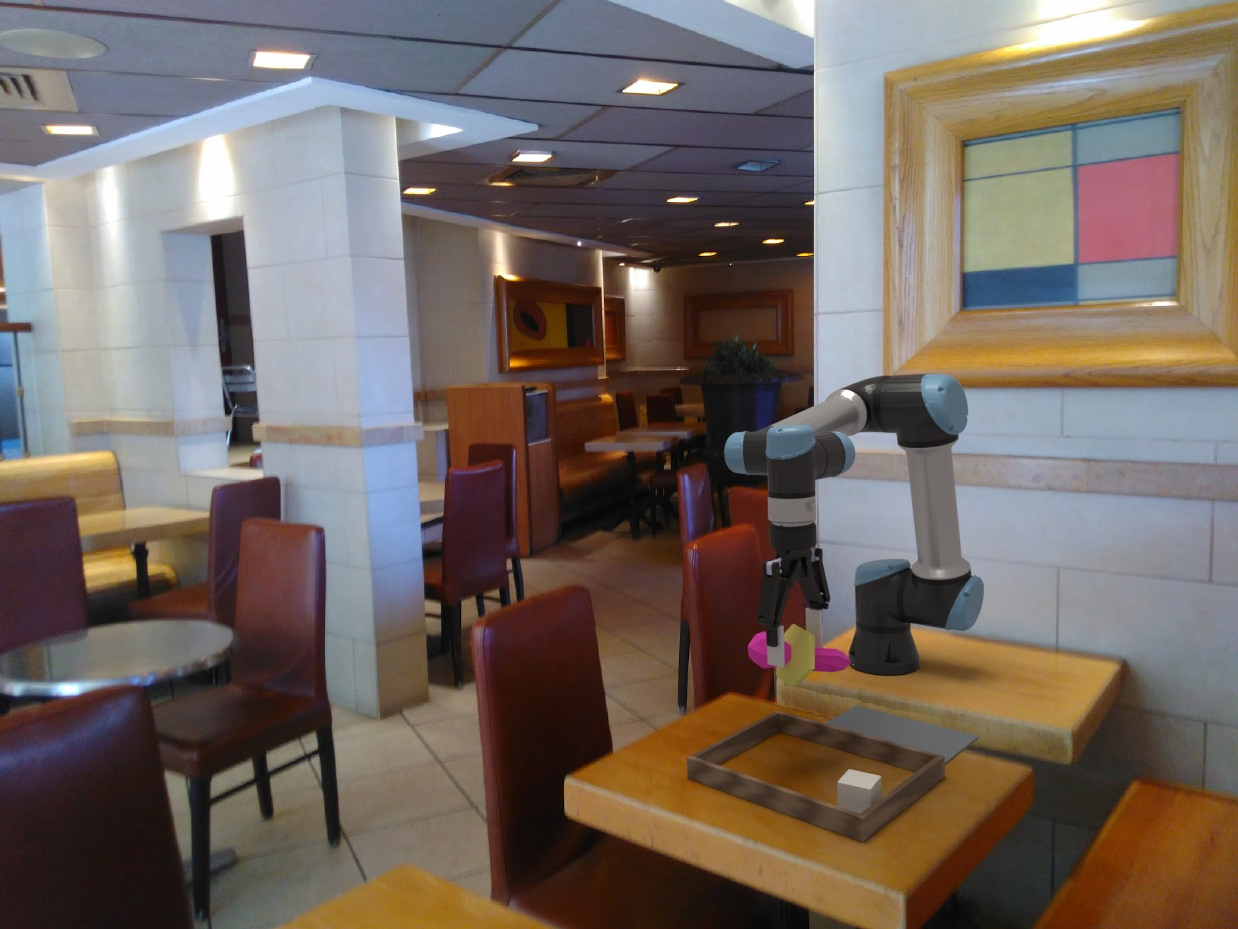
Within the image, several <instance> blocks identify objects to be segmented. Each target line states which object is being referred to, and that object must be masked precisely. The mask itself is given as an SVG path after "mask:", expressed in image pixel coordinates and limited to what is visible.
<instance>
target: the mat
mask: <svg viewBox="0 0 1238 929" xmlns="http://www.w3.org/2000/svg"><path fill="white" fill-rule="evenodd" d="M824 723H825V724H828V725H832V726H836V727H839V728H843V729H847V730H850V731H854V732H857V733H861V734H865V735H868V736H872V737H876V738H879V739H883V740H887V741H890V742H894V743H898V744H901V745H905V746H909V747H912V748H916V749H919V750H923V751H927V752H930V753H934V754H938V755H941V756H945V765H947V763H948V764H949V762H951V761H952V760H953V759H954V758H955V757H957V756H958V755H960V754H961V753H962V752H963V751H964V750H967V748H968V747H970V746H971V745H972V744H973V743H975V742H976V741H978V740H979V738H980V736H979V735H977V734H976V735H975V734H973V733H969V732H968V733H967V732H964V731H960V730H956V729H953V728H947V727H944V726H939V725H937V724H932V723H927V722H925V721H919V720H916V719H912V718H910V717H909V718H907V717H904V716H899V715H897V714H893V713H888V712H885V711H880V710H876V709H872V708H868V707H864V706H861V705H857V704H856V705H855V706H853V707H851V708H849V709H847V710H846V711H843V712H842V713H841V714H838V715H837V716H836V717H833V718H832V719H830V720H829V721H827V722H824Z"/></svg>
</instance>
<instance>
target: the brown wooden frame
mask: <svg viewBox="0 0 1238 929" xmlns="http://www.w3.org/2000/svg"><path fill="white" fill-rule="evenodd" d="M825 723H826V722H821V721H816V720H814V719H809V718H806V717H801V716H798V715H795V714H791V713H788V712H784V711H781V710H775V711H772V712H771V713H769V714H768V715H766V716H764V717H763V718H760V719H758V720H755V721H754V722H753V723H751V724H749V725H747V726H745V727H742V728H741V729H739V730H737V731H735V732H733V733H731V734H729V735H727V736H725V737H723V738H721V739H720V740H718V741H716V742H714V743H712V744H710V745H708V746H707V747H704V748H702V749H701V750H699V751H697V752H695V753H692V754H691V755H689V756H687V757H686V772H687V773H686V775H687V779H689V780H692V781H695V782H697V783H700V784H703V785H705V786H708V787H711V788H713V789H716V790H719V791H722V792H725V793H728V794H730V795H733V796H735V797H738V798H741V799H743V800H746V801H749V802H751V803H755V804H757V805H760V806H763V807H765V808H767V809H771V810H774V811H776V812H778V813H782V814H784V815H787V816H790V817H793V818H795V819H798V820H800V821H802V822H807V823H809V824H811V825H814V826H817V827H820V828H822V829H825V830H827V831H831V832H833V833H836V834H839V835H842V836H844V837H847V838H850V839H852V840H855V841H858V842H861V843H865V841H867V840H868V839H870V838H871V837H872V836H874V834H876V833H877V832H878V831H879V830H881V829H882V828H884V827H885V826H886V825H887V824H889V822H891V821H892V820H894V819H895V818H896V817H897V816H899V815H900V814H901V813H902V812H904V811H905V810H906V809H907V808H908V807H909V806H911V805H913V803H915V802H916V801H917V800H918V799H919V798H921V797H922V796H924V795H925V794H926V793H927V792H928V791H930V790H931V789H932V788H934V787H935V786H936V785H938V784H939V782H941V781H942V780H943V779H944V778H945V777H946V772H945V771H946V768H945V767H946V764H945V756H941V755H938V754H934V753H930V752H927V751H923V750H919V749H916V748H912V747H909V746H905V745H901V744H898V743H894V742H890V741H887V740H883V739H879V738H876V737H872V736H868V735H865V734H861V733H857V732H854V731H850V730H847V729H843V728H839V727H836V726H832V725H828V724H825ZM778 733H782V734H785V735H789V736H792V737H796V738H799V739H802V740H805V741H809V742H813V743H816V744H820V745H824V746H826V747H830V748H832V749H837V750H839V751H844V752H846V753H850V754H853V755H857V756H861V757H864V758H868V759H871V760H874V761H877V762H881V763H884V764H888V765H891V766H894V767H899V768H901V769H905V770H908V771H911V772H912V771H913V772H914V773H912V774H911V775H909V776H908V777H907V778H906V779H904V780H903V781H901V782H900V783H899V784H898V785H897V786H895V787H894V788H892V789H891V790H889V791H888V792H887V793H885V795H882V798H880V799H879V800H878V801H876V802H875V803H874V804H872V805H871V806H870V807H868V808H867V809H866V810H864V811H863V812H862V813H860V814H859V813H856V812H853V811H850V810H847V809H844V808H841V807H839V806H838V805H835V804H832V803H830V802H826V801H824V800H820V799H819V798H814V797H812V796H809V795H807V794H803V793H801V792H797V791H795V790H791V789H789V788H786V787H782V786H780V785H778V784H774V783H772V782H769V781H765V780H762V779H759V778H756V777H753V776H750V775H748V774H745V773H742V772H739V771H737V770H733V769H730V768H728V767H724V766H722V765H721V764H724V763H725V762H727V761H729V760H731V759H733V758H735V757H736V756H737V755H740V754H741V753H744V752H745V751H748V750H749V749H750V748H753V747H754V746H756V745H758V744H759V743H762V742H763V741H765V740H767V739H769V738H771V737H772V736H774V735H775V734H778Z"/></svg>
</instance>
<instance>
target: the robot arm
mask: <svg viewBox="0 0 1238 929" xmlns="http://www.w3.org/2000/svg"><path fill="white" fill-rule="evenodd" d="M961 384H962V383H960V381H958V379H956V377H955V376H952V375H950V374H944V373H943V374H938V373H937V374H935V373H932V372H931V373H914V374H899V375H879V376H878V375H877V376H872V377H868V378H865V379H863V380H860V381H857V382H854V383H851V384H849V385H847V386H844V387H841V388H839V389H837V390H835V391H832V392H831V393H830V394H829V395H827V398H826V399H825V400H824V401H822V402H820V403H818V404H816V405H813V406H811V407H809V408H806V409H805V410H803V411H800V412H798V413H796V414H794V415H791V416H789V417H787V418H784V419H782V420H780V421H778V422H775V423H773V424H771V425H769V426H766V427H763V428H761V429H760V430H755V431H748V430H744V431H741V432H737V431H736V432H734V433H732V434H731V435H729V437H728V438H727V440H726V442H725V445H724V451H723V454H724V461H725V464H726V466H727V467H728V469H729V470H730V471H731V472H733V473H736V474H741V475H742V474H743V475H747V476H751V475H752V476H753V475H754V476H767V489H768V490H767V495H768V496H767V519H768V521H770V522H771V523H770V524H769V525H768V539H769V541H768V543H769V546H770V548H771V547H772V548H773V549H774V550H775V554H774V555H775V556H774V559H773V560H771V561H769V560H763V562H762V580H761V586H760V593H759V594H760V595H759V601H758V606H757V613H756V617H755V618H756V619H755V620H756V621H755V622H756V623H757V624H759V625H764V627H765V632H766V644H767V657H768V664H769V665H774V666H778V667H784V666H785V658H784V633H785V629H784V628H785V627H784V625H781V622H782V619H783V616H784V612H785V610H786V605H787V602H788V597H789V595H790V592H791V589H792V588H793V587H795V583H796V582H797V581H798V584H799V586H800V589H801V591H802V593H803V595H804V596H803V597H804V598H805V600H806V602H807V604H808V606H809V607H806V608H805V630H806V631H808V632H810V633H811V634H813V635H814V636H815V648H824V642H823V640H824V639H823V638H824V637H823V635H824V634H823V623H824V622H823V610H829V607H830V606H829V603H830V602H831V594H830V590H829V585H828V580H827V576H826V571H825V567H824V563H823V560H824V559H823V558H824V557H823V555H824V554H823V549H822V548H819V547H816V546H817V542H818V538H817V537H818V536H817V534H818V533H817V532H818V530H817V524H816V523H815V522H814V521H815V520H816V519H817V510H816V509H817V504H816V481H818V480H822V479H828V478H836V477H838V476H839V475H842V474H845V473H846V472H848V471H849V470H850V469H851V468H852V466H853V465H854V462H855V459H856V448H855V445H854V443H853V441H852V439H850V437H851V436H855V435H856V434H860V433H884V434H885V433H886V434H895V435H896V440H897V445H898V447H899V448H900V449H902V450H904V452H906V461H907V469H908V479H909V489H910V497H911V498H910V499H911V505H912V506H911V508H912V516H913V524H914V525H913V526H914V534H915V536H914V537H915V544H916V551H917V552H916V553H917V554H916V555H917V560H916V561H914V563H913V564H912V565H911V563H910V561H909V560H908V559H904V558H886V559H885V558H884V559H878V560H877V559H874V560H871V561H866V562H863V563H861V564H859V565H858V566H857V567H856V569H855V573H854V583H853V584H854V585H853V586H854V600H855V601H854V602H855V603H854V604H855V605H854V606H855V607H854V608H855V631H854V634H853V638H852V640H851V644H850V647H849V649H848V653H847V654H848V655H847V657H848V658H849V659H850V661H851V663H850V664H849V665H848V666H850V667H851V668H853V669H854V670H857V671H859V672H863V673H867V674H870V675H871V674H872V675H881V676H897V675H906V674H910V673H913V672H915V671H916V670H918V669H919V668H920V654H919V651H918V648H917V646H916V642H915V640H914V637H913V634H912V629H911V627H912V626H911V625H913V624H914V625H919V626H925V627H930V628H931V627H932V628H935V629H937V628H938V629H943V630H946V631H958V632H964V631H968V630H970V629H971V628H973V626H974V625H975V624H976V622H977V621H978V618H979V615H980V613H981V610H982V607H983V603H984V602H983V601H984V598H985V597H984V596H985V585H984V581H983V580H982V578H981V577H979V576H978V575H975V574H974V575H973V574H972V569H971V563H970V562H969V560H967V559H966V558H964V557H963V556H962V554H963V553H962V546H961V534H960V526H959V525H960V523H959V513H958V504H957V502H958V501H957V494H956V493H957V492H956V485H955V484H956V482H955V471H954V461H953V451H952V448H953V446H954V445H955V444H956V443H957V442H958V441H959V437H960V436H959V435H960V434H961V433H963V432H964V431H965V429H966V427H967V425H968V420H969V419H968V416H969V406H968V400H967V395H966V393H965V390H964V388H963V386H962V385H961ZM853 664H854V665H853Z"/></svg>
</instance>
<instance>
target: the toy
mask: <svg viewBox="0 0 1238 929" xmlns="http://www.w3.org/2000/svg"><path fill="white" fill-rule="evenodd" d="M747 651H748V658H749V659H751V661H753V663H755V664H756V665H757V666H759V667H760V668H762V669H771V668H772V669H773V668H775V669H776V674H775V676H776V677H777V678H778V679H780V680H781V681H783V682H784V683H786V684H787V685H788V686H790V687H795V686H799V685H801V683H802V682H803V681H804V680H805V679H806V678H807V677H808V676H809V675H810V674H811V673H812V672H817V673H818V672H819V673H820V672H822V673H836V672H841V671H844V670H846V669H847V668H848V667H849V666H850V665H849V664H850V663H851V661H850V659H849V658H848V655H847V653H845V652H844V651H841V650H840V649H838V648H831V647H829V648H827V647H823V648H815V636H814V635H813V634H811V633H810V632H808V631H806V629H804V628H802V627H800V626H798V625H797V624H795V623H792V624H791V625H790V627H789V628H787V630H786V631H784V658H785V666H784V667H778V666H774V665H769V664H768V657H767V644H766V630H763V631H761V632H759V633H758V632H757V633H756V634H754V636H753V637H752V639H751V641H750V642H749V644H748V646H747Z"/></svg>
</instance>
